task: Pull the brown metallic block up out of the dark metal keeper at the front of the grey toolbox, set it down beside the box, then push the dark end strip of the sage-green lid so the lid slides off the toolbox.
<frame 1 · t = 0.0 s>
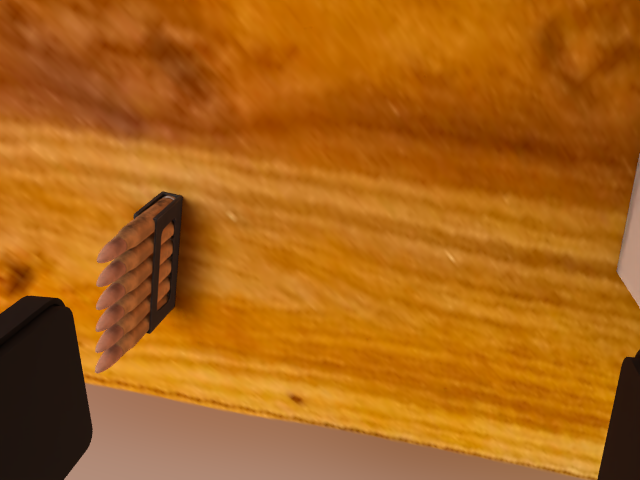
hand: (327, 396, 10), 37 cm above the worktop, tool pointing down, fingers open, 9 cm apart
ammunition clip: (169, 250, 53), on the worktop
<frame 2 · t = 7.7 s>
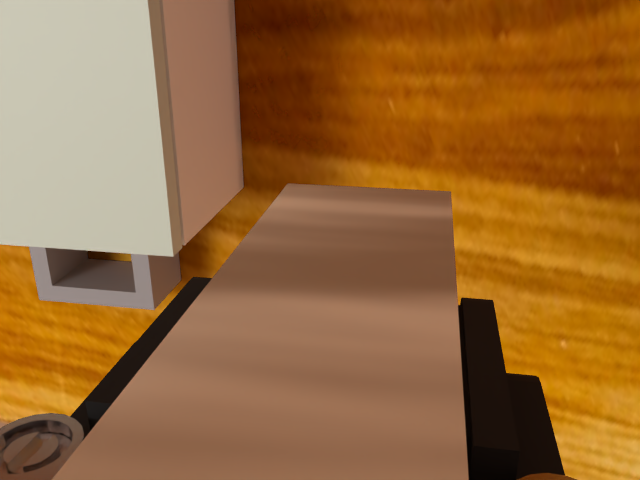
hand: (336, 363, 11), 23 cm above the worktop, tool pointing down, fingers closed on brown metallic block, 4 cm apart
toolbox: (91, 2, 33), on the worktop
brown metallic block: (365, 262, 16), point 18 cm above the worktop, touching gripper
when the fingers open (6 cm above the worktop, at t = 11.1 s): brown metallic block drops 1 cm, on the worktop.
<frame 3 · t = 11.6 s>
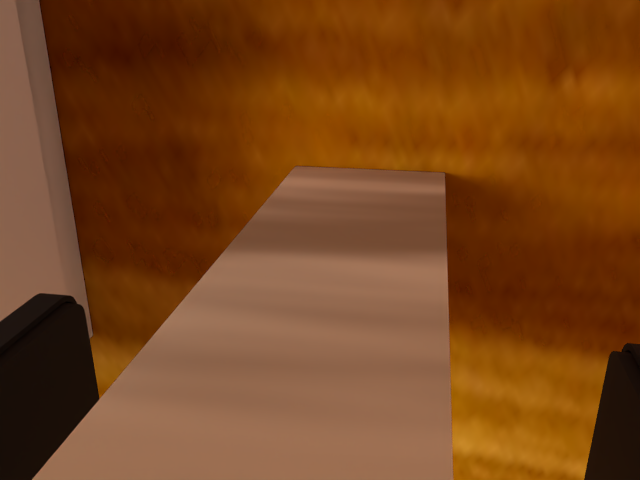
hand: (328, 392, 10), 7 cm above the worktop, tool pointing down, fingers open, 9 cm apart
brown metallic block: (366, 238, 17), on the worktop
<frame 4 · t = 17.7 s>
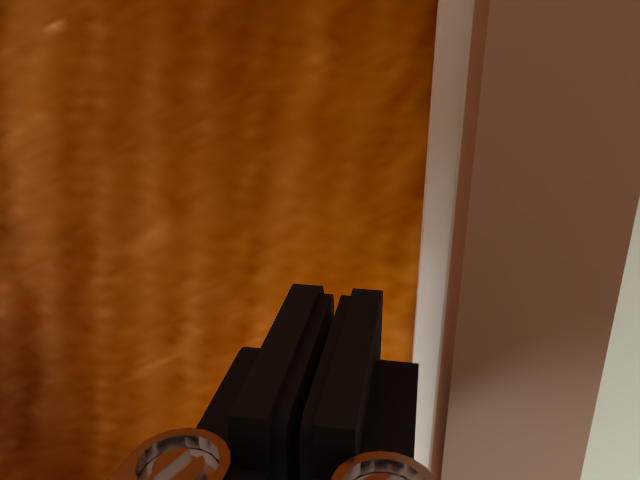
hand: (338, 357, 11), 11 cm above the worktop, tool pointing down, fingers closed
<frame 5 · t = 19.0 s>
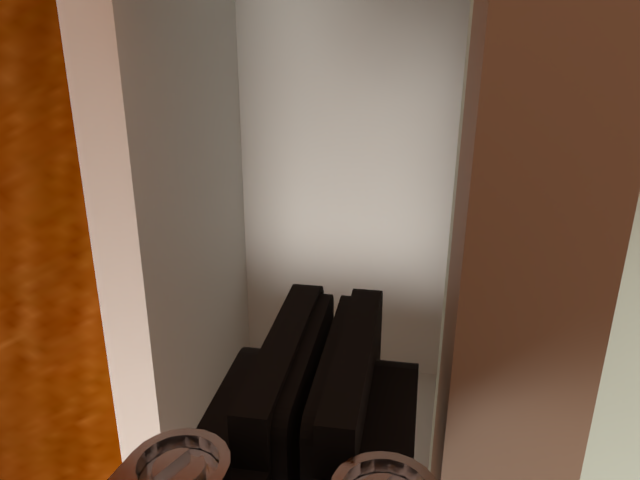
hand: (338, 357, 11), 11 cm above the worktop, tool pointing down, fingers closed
toolbox: (497, 196, 21), on the worktop
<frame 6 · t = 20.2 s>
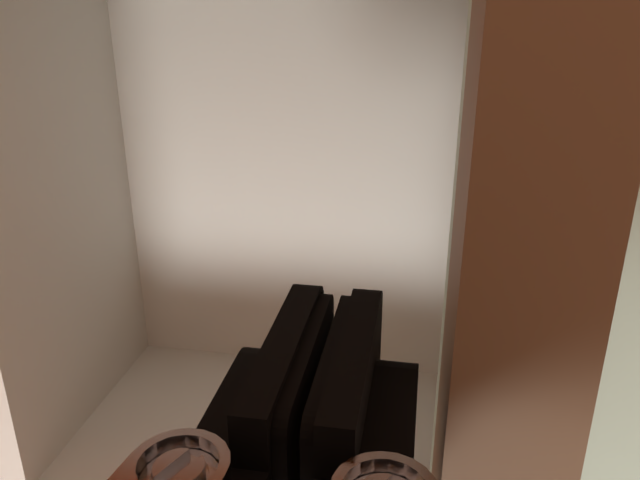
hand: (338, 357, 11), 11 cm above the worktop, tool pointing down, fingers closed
toolbox: (372, 189, 22), on the worktop
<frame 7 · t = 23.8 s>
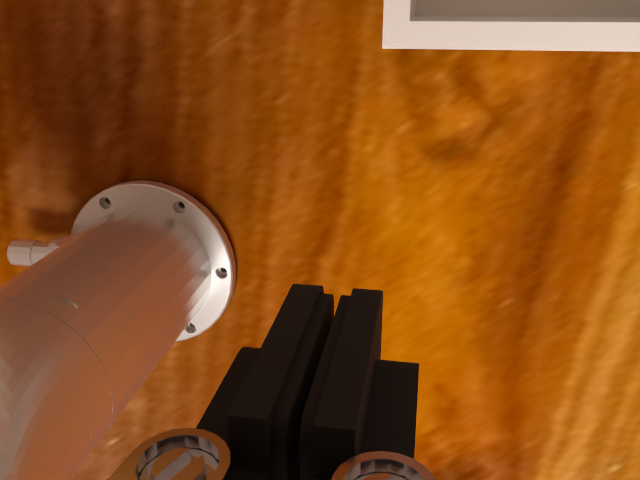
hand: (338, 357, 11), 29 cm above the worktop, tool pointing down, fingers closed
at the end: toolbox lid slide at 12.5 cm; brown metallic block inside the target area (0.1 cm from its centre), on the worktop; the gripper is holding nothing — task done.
